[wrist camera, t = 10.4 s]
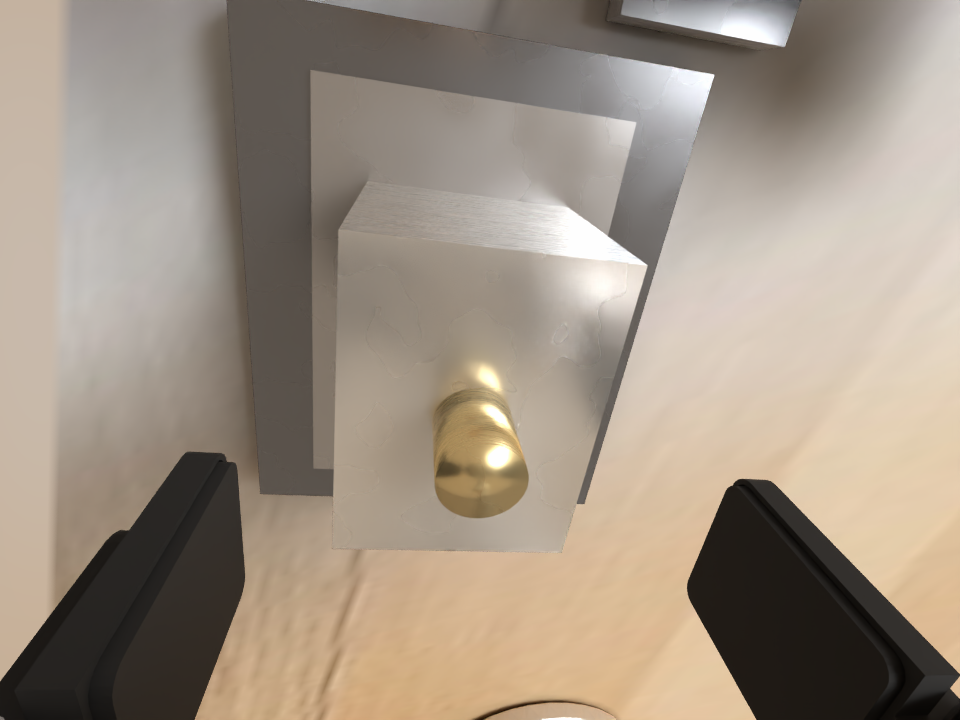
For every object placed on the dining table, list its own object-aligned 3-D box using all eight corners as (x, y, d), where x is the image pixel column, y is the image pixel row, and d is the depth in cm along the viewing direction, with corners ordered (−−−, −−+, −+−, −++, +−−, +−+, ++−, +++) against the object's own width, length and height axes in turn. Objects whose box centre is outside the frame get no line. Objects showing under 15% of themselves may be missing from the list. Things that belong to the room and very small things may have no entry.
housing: (521, 425, 19) (583, 620, 12) (357, 416, 18) (318, 621, 11) (568, 207, 15) (696, 301, 8) (367, 181, 14) (319, 261, 7)
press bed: (616, 482, 23) (695, 633, 16) (270, 468, 21) (202, 640, 14) (850, -223, 13) (1296, -554, 6) (221, -411, 10) (-105, -1255, 4)
